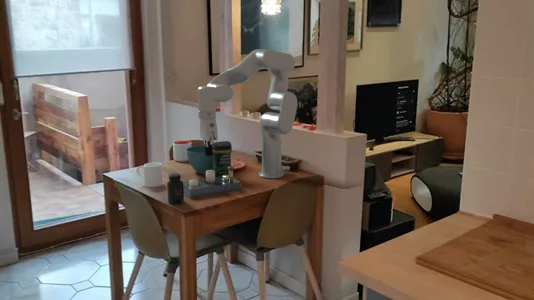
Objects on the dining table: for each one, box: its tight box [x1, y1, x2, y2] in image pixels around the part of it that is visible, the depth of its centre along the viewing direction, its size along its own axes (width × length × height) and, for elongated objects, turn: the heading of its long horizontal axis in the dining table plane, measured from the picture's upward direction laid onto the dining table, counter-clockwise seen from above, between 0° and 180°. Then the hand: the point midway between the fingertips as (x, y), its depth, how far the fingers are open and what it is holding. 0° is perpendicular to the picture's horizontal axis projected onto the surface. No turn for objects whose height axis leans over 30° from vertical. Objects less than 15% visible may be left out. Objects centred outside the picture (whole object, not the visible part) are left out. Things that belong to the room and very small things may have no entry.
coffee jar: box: [212, 140, 233, 177], centre depth 253 cm, size 10×8×19 cm
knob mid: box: [205, 170, 215, 183], centre depth 236 cm, size 4×4×5 cm
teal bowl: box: [186, 144, 213, 175], centre depth 266 cm, size 18×18×12 cm
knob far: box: [188, 179, 198, 187], centre depth 233 cm, size 4×4×5 cm
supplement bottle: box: [166, 172, 185, 205], centre depth 220 cm, size 7×7×12 cm
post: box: [228, 165, 235, 183], centre depth 235 cm, size 3×3×7 cm
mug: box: [136, 161, 163, 188], centre depth 245 cm, size 8×12×10 cm, turn 82°
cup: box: [172, 140, 192, 163], centre depth 290 cm, size 10×10×10 cm
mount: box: [183, 175, 242, 199], centre depth 236 cm, size 24×13×6 cm, turn 118°
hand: (209, 155), depth 233 cm, fingers closed
